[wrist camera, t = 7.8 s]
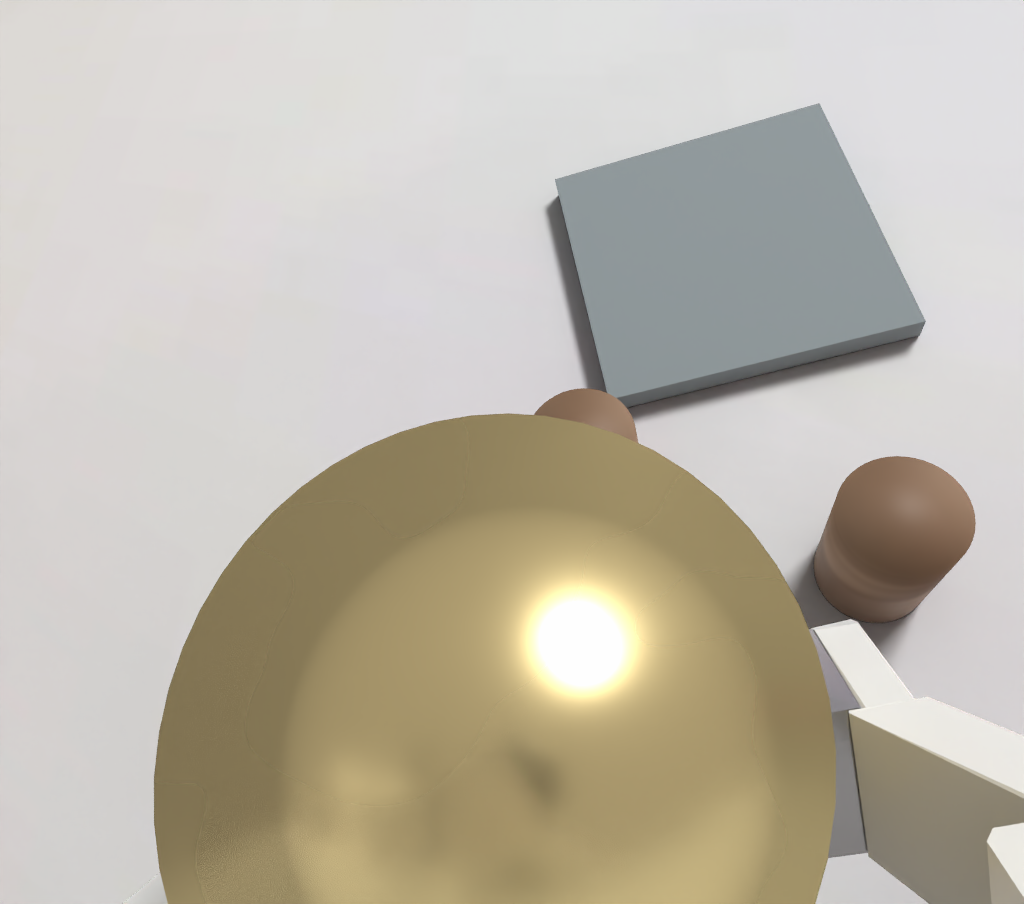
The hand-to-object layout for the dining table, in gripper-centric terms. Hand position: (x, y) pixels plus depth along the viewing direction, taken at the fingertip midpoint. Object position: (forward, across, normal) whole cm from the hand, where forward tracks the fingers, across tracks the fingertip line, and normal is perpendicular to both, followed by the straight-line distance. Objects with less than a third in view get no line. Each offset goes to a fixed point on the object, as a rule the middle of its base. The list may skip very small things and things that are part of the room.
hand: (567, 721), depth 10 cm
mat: (+21, -7, -2) cm, 22 cm away
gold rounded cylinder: (+4, 0, +5) cm, 7 cm away
